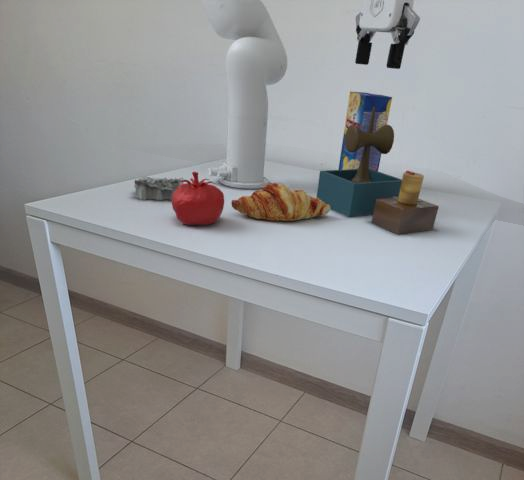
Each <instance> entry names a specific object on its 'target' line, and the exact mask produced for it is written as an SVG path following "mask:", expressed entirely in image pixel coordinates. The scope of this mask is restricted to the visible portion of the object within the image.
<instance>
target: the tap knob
mask: <svg viewBox="0 0 524 480" xmlns="http://www.w3.org/2000/svg"><path fill="white" fill-rule="evenodd" d="M424 177H425V175H424V174H422V173H419V172H414V171H411V170H405V172H403V173H402V178H401V179H402V183H401V187H400V192H399V197H398V202H400V203H403V204H408V205H415V204H417V203H418V199H420V194H421V190H422V185H423V181H424Z"/></svg>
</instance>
